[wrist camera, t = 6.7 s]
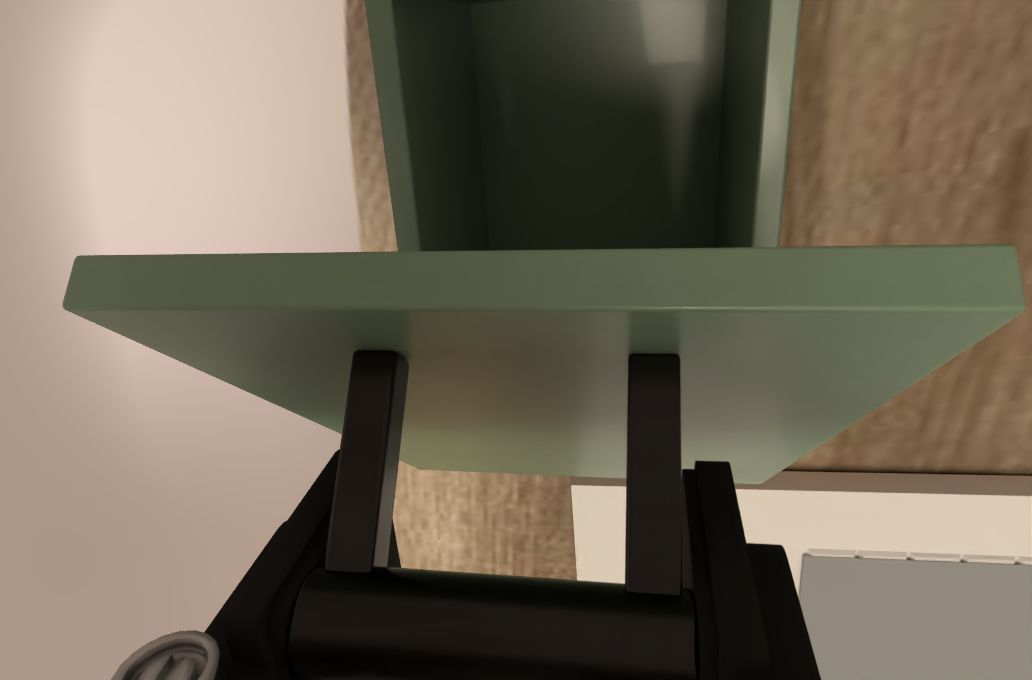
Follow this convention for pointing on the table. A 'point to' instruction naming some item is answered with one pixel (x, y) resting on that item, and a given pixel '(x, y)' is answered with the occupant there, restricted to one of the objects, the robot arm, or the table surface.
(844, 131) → the table surface
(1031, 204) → the table surface
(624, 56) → the bin
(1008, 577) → the laptop
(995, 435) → the table surface
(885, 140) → the table surface
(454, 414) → the bin lid
